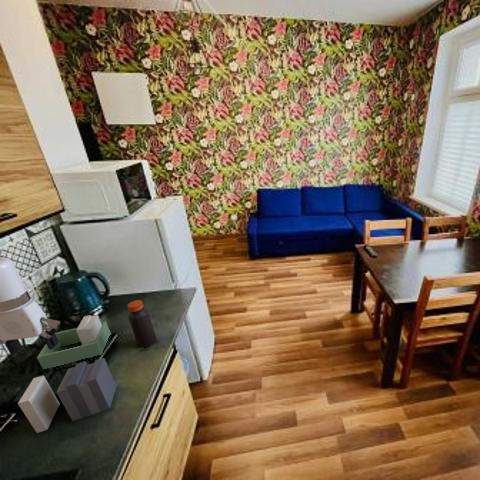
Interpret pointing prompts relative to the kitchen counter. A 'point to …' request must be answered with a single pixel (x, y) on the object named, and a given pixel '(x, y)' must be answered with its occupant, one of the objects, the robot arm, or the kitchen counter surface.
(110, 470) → the kitchen counter surface
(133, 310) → the bottle
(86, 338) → the white books
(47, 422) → the white book
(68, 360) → the crate
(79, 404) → the grey books
